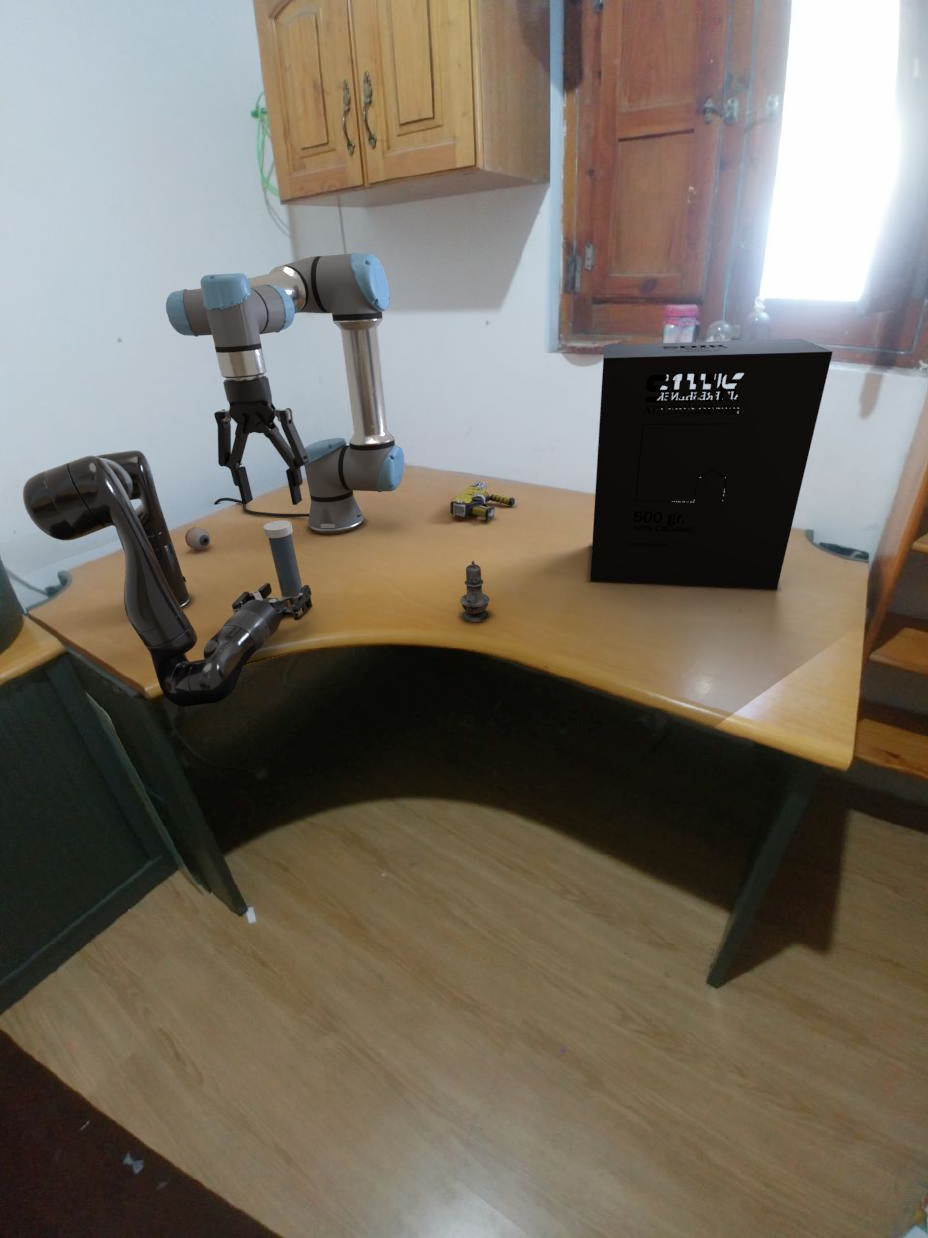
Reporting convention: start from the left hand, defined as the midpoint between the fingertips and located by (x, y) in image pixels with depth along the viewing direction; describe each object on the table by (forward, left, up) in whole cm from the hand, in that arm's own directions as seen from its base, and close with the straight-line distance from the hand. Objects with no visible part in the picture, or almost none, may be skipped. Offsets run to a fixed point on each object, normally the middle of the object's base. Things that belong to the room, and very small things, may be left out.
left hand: (288, 588), depth 123 cm
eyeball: (-40, +30, -6) cm, 51 cm away
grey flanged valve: (+38, +3, -6) cm, 39 cm away
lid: (0, +1, +13) cm, 13 cm away
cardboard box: (+79, +30, -6) cm, 85 cm away
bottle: (0, +1, -6) cm, 6 cm away
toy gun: (+30, +65, -6) cm, 72 cm away
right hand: (0, +1, +18) cm, 18 cm away
